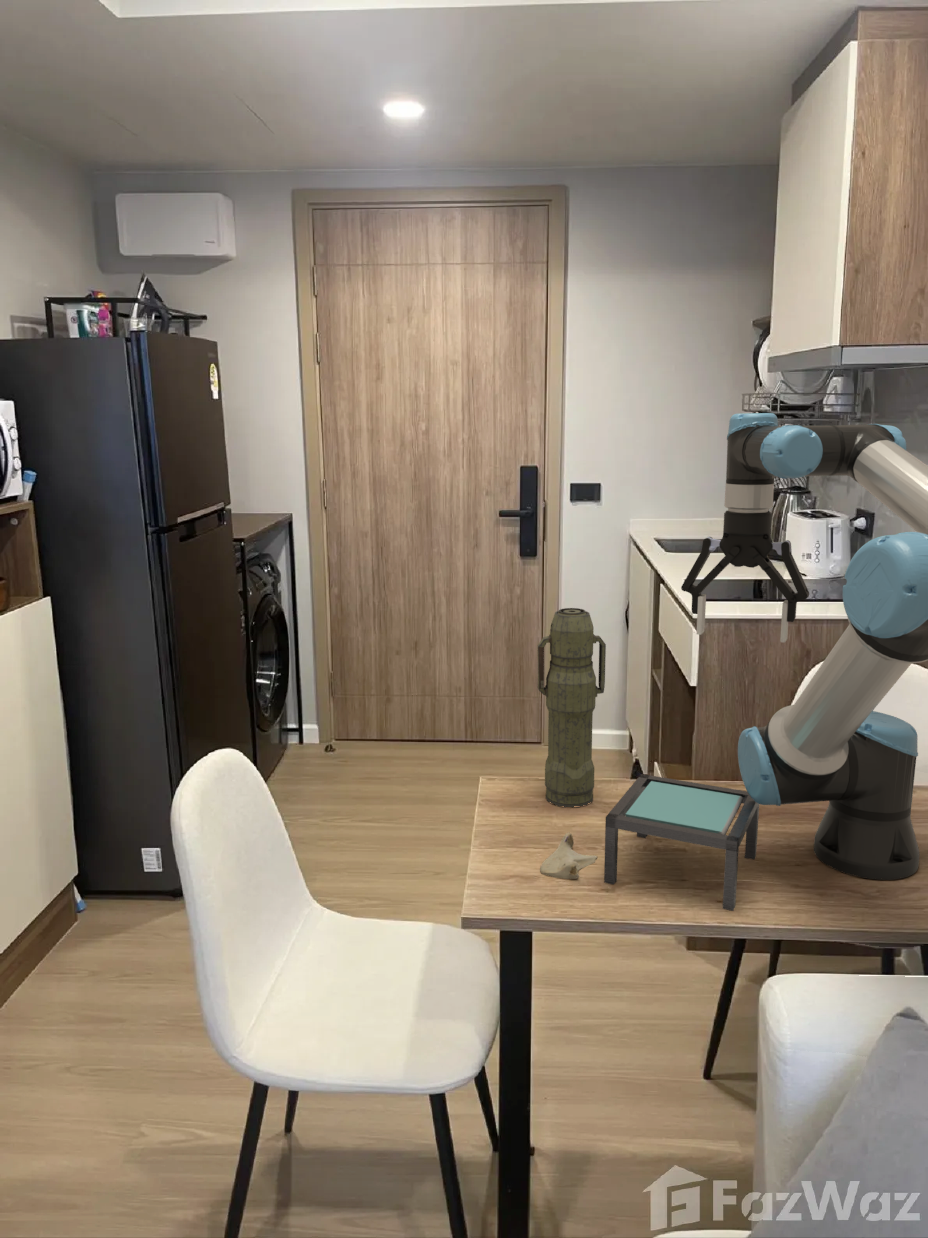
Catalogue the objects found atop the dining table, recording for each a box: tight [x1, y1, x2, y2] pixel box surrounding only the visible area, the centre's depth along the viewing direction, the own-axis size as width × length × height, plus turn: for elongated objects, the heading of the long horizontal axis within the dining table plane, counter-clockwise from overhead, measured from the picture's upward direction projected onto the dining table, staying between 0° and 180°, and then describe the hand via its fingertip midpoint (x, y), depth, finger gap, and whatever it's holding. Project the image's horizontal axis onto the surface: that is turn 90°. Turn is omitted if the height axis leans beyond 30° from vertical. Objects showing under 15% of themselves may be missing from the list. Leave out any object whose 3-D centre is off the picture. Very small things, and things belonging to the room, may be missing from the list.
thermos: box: [537, 607, 607, 808], centre depth 164 cm, size 9×12×35 cm
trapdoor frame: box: [603, 773, 760, 912], centre depth 140 cm, size 19×19×10 cm
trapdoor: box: [625, 781, 743, 835], centre depth 139 cm, size 14×14×1 cm
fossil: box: [539, 831, 598, 880], centre depth 143 cm, size 7×11×3 cm, turn 152°
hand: (741, 636), depth 154 cm, fingers open, 13 cm apart
